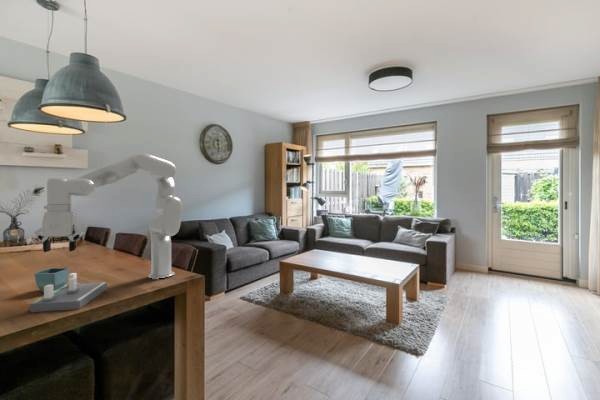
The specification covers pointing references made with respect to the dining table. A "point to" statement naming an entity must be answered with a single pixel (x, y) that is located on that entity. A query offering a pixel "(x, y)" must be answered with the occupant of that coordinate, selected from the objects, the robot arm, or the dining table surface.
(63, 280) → the flower pot
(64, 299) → the grey flat block
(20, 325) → the dining table surface
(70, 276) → the cylinder
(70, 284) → the middle breaker
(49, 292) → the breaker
